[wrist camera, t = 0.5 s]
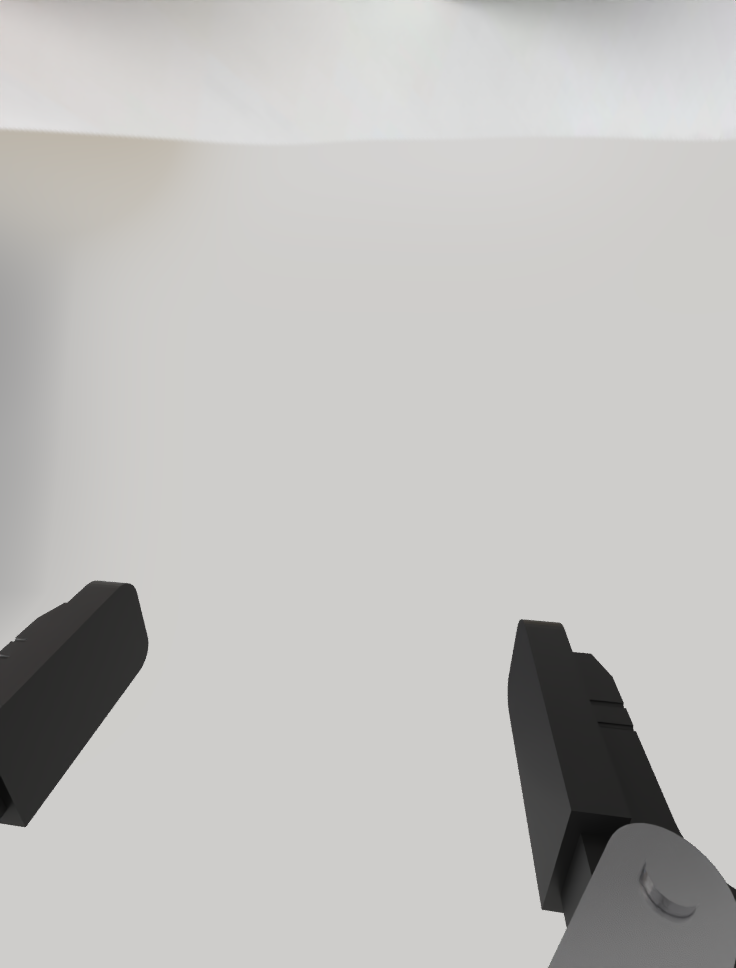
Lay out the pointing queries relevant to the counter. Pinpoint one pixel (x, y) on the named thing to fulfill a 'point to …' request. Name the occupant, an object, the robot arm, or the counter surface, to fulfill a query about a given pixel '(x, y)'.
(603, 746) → the robot arm
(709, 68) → the counter surface
